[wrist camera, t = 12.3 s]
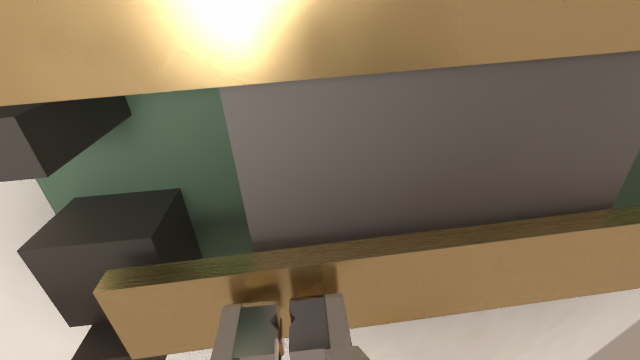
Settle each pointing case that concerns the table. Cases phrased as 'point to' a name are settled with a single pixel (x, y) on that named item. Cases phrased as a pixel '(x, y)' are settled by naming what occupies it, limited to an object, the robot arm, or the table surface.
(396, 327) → the table surface
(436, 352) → the table surface
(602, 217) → the strap
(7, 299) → the table surface
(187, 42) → the bar
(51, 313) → the table surface
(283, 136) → the circuit board
